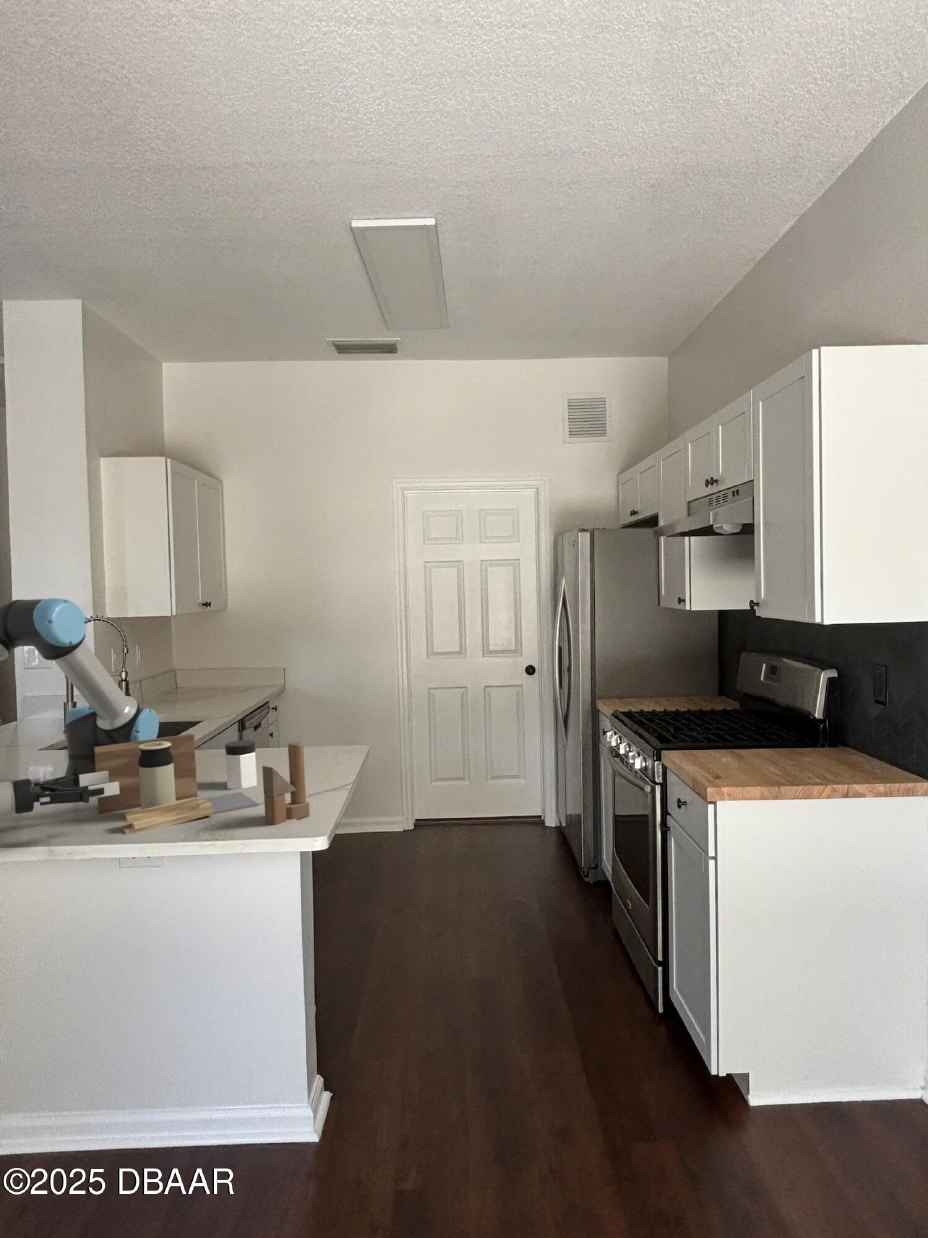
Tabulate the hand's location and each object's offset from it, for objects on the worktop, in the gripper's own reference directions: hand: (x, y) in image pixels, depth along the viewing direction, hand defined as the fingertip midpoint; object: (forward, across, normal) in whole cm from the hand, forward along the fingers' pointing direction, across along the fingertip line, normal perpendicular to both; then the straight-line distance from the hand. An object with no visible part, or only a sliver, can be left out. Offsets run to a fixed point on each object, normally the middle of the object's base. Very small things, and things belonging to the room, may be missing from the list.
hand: (113, 781), depth 198 cm
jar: (+36, -16, -11) cm, 41 cm away
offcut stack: (+10, +9, -10) cm, 17 cm away
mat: (+25, +2, -10) cm, 27 cm away
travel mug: (+10, 0, -11) cm, 15 cm away
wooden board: (+10, -11, -10) cm, 18 cm away
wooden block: (+34, +24, -11) cm, 43 cm away
